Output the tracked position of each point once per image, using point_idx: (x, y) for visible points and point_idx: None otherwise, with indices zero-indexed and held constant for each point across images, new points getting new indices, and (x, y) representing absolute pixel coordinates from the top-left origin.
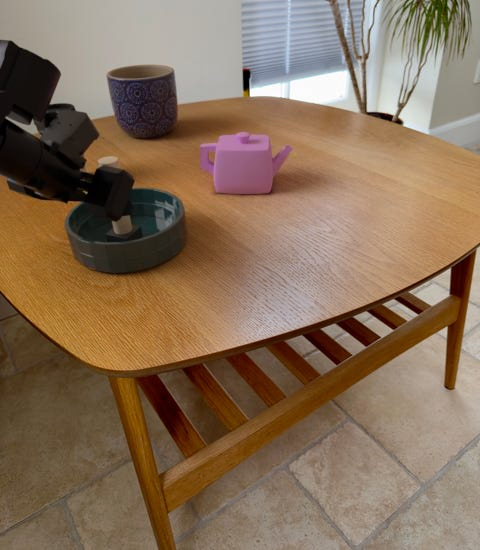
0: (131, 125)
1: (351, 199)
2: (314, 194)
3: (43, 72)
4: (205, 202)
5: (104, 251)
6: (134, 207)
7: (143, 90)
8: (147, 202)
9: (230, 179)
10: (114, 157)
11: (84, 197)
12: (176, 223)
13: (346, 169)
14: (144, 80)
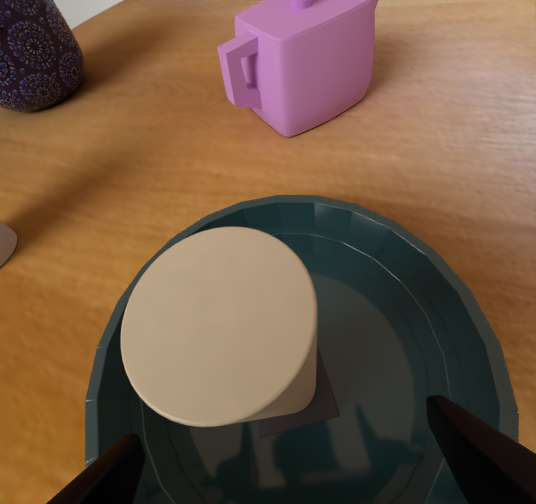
0: (13, 89)
1: (482, 49)
2: (424, 66)
3: None
4: (294, 166)
5: None
6: (448, 399)
7: None
8: None
9: (314, 99)
10: (228, 240)
11: (134, 459)
12: (473, 295)
13: (397, 16)
14: None
